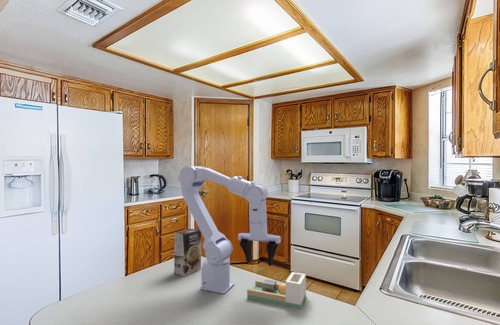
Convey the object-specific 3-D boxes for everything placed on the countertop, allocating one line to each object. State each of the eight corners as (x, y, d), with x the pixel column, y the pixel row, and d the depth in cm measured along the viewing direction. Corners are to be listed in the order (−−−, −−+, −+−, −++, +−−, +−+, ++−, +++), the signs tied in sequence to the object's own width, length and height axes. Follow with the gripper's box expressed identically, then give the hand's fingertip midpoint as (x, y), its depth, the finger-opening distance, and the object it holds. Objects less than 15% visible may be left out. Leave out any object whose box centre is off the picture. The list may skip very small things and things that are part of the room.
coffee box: (185, 276, 100) (185, 234, 100) (173, 273, 103) (173, 232, 104) (201, 269, 107) (201, 229, 108) (190, 266, 111) (190, 227, 111)
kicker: (261, 292, 84) (261, 282, 84) (264, 288, 86) (264, 279, 86) (273, 294, 82) (273, 284, 82) (276, 290, 85) (276, 281, 85)
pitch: (247, 298, 83) (247, 275, 83) (256, 287, 90) (256, 266, 90) (300, 309, 76) (300, 284, 76) (305, 296, 84) (305, 274, 84)
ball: (276, 296, 81) (276, 285, 81) (279, 291, 85) (279, 280, 85) (287, 298, 80) (287, 287, 80) (290, 293, 83) (290, 282, 83)
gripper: (283, 220, 87) (284, 262, 86) (244, 218, 93) (245, 257, 92) (275, 224, 80) (277, 269, 80) (234, 222, 87) (235, 263, 86)
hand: (259, 263), depth 86 cm, fingers open, 7 cm apart
